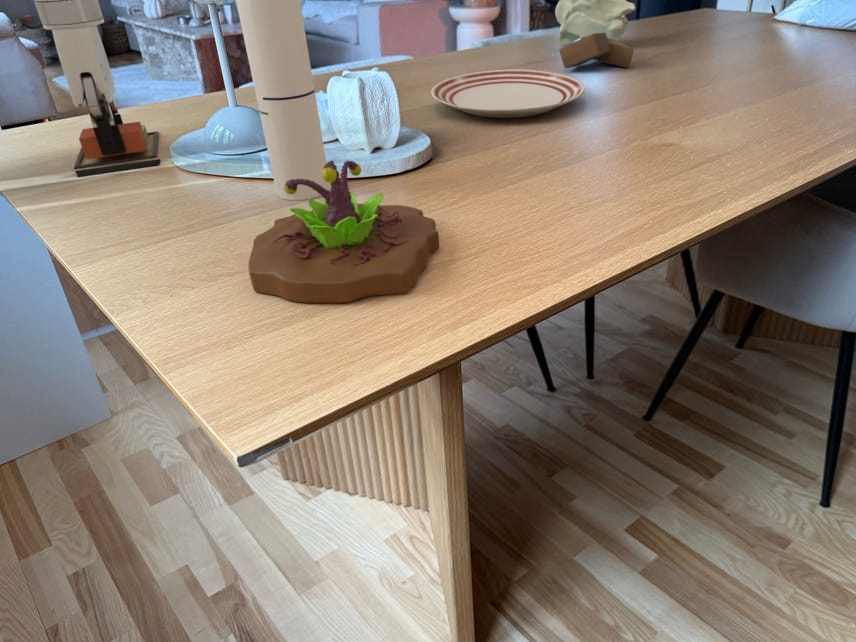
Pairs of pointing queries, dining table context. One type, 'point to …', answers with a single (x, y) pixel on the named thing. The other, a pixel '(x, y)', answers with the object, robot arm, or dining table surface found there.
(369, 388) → the dining table surface
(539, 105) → the dinner plate
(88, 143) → the terracotta pad
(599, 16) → the wavy plaster lump
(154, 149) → the frame tray
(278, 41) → the cylindrical container
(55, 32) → the robot arm
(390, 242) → the plant
